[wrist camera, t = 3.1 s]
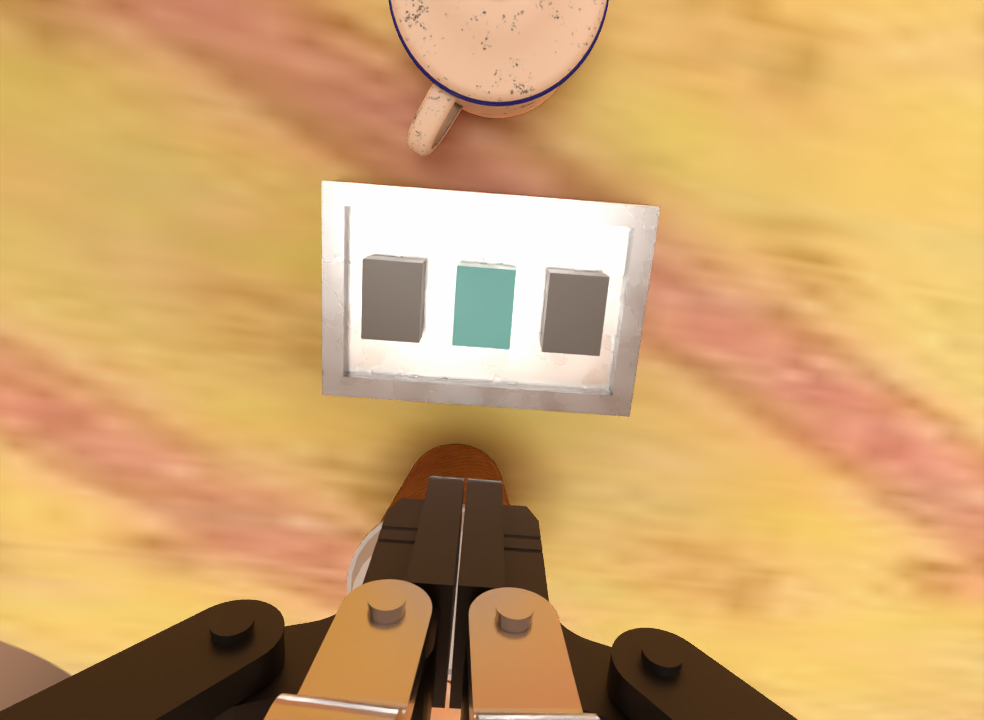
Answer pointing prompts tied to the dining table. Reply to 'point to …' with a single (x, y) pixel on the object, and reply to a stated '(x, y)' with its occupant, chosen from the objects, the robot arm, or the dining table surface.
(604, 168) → the dining table surface
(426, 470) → the disposable coffee cup
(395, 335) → the grey rectangular prism
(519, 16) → the teacup with lid
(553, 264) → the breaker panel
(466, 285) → the teal rectangular box
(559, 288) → the dark taupe block
